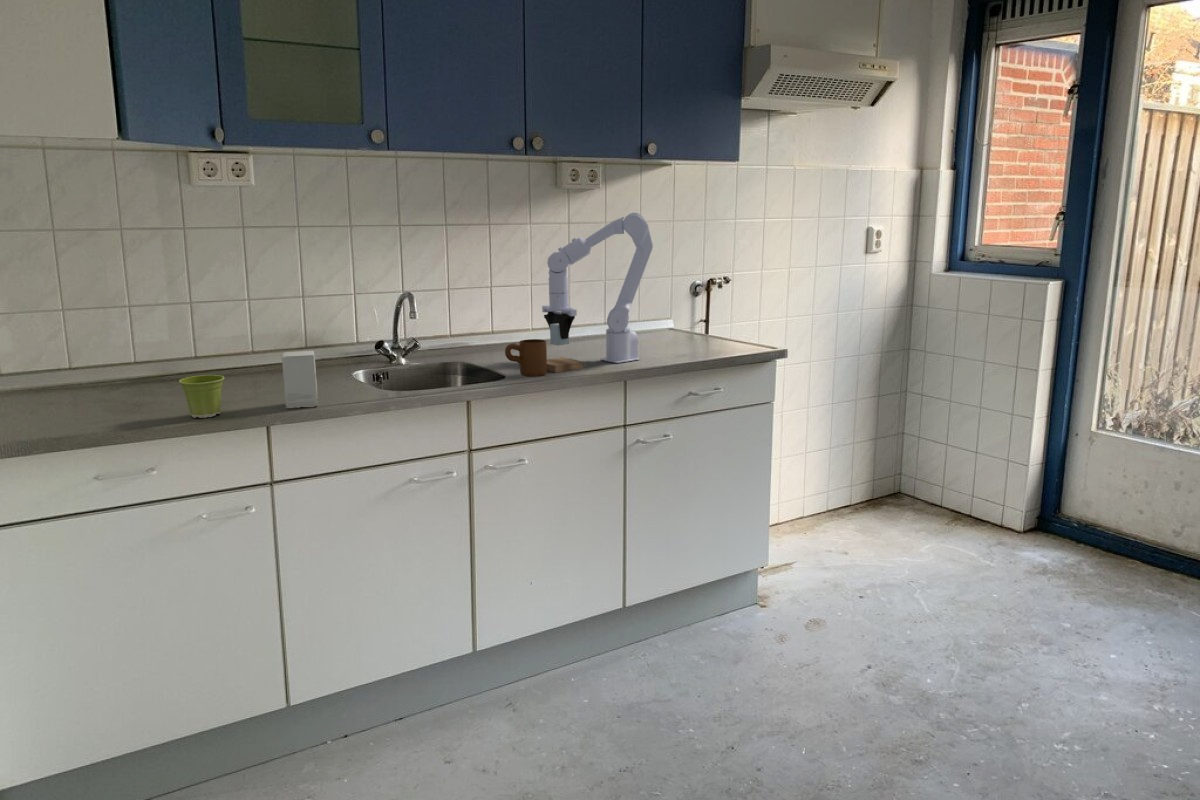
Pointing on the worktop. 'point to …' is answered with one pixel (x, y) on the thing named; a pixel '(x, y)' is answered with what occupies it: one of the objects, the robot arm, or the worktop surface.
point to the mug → (529, 356)
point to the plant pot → (203, 393)
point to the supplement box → (299, 378)
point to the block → (557, 335)
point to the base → (563, 364)
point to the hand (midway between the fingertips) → (559, 338)
